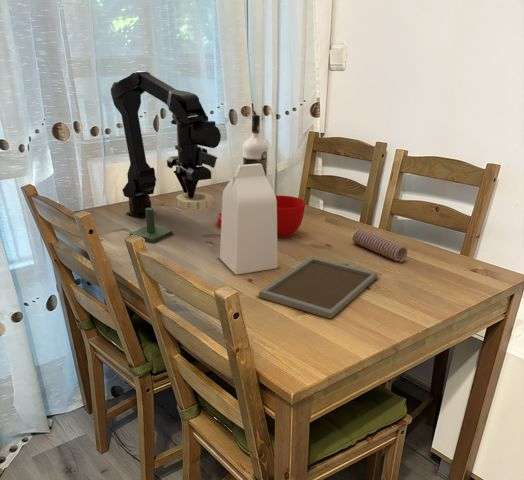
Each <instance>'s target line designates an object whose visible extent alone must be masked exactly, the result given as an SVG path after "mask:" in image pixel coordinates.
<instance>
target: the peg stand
mask: <svg viewBox="0 0 524 480" xmlns="http://www.w3.org/2000/svg"><path fill="white" fill-rule="evenodd" d="M145 213H146V216H145V224H146V226H143V227H141V228H138V229H136V230H133V231H131V232H129V236H130V235H133V234H135V235H138V236H141V237H143V238H144V239H145V241H144V242H148V243H151V244H156V243H157V242H160V241H162V240H164V239H166V238H168V237H170V236H172V235H173V230H171V229H167V228H164V227H161V226H156V223H155V210H154V207H151V208H146V209H145Z"/></svg>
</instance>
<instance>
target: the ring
mask: <svg viewBox="0 0 524 480" xmlns="http://www.w3.org/2000/svg"><path fill="white" fill-rule="evenodd" d="M176 205H177V207H179V208H180V209H184V210H189V211H198V210H199V211H202V210H207V209H210V208H212V207H213V206H214V196H213V195H211V194H210V193H206V192H201V191H195V193H194V197H193V198H191V199H190V198H189V196H188V193H184V192H183V193H180V194H178V195H177V196H176Z"/></svg>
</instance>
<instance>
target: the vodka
mask: <svg viewBox="0 0 524 480" xmlns="http://www.w3.org/2000/svg"><path fill="white" fill-rule="evenodd" d="M260 127H261V116H260V115H259V114H252V115H251V136H250V137H249V138H247V139H246V140H245V141H243V144H242V165H247V164H262V166H263V169H264V172H265V176H266V177H267V174H268V173H267V172H268V170H267V169H268V156H269V155H268V153H269V152H268V151H269V144H268V143H267V141H265V140H264V139H263V138H262V137H261V133H260V132H261V130H260V129H261V128H260Z"/></svg>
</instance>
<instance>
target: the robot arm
mask: <svg viewBox="0 0 524 480" xmlns="http://www.w3.org/2000/svg"><path fill="white" fill-rule="evenodd" d="M144 93H148V95H150V96H152V97H154V98H155V99H158V100H159V101H161V102H162V103H164V104H165V105H166V106H167V108H168V111H169V112H171V114H172V115H174V118H173V119H172V120H171V121H170V123H171V125H176V139H177V141H176V142H177V144H176V145H174V149H175V150H176V151H177V155H174V156H169V157H168V158H167V159H166V166H167V168H169V169H173V168H174V167H175V170H173V174H174V175H175V176H176V179H177V181H178V183H179V185H180V187H181V189H182V191H183V193H188V196H189V198H190V199H191V198H193V197H194V193H195V192H196V190H197V187H198V183H199V181H204V180H211V179H212V171H211V170H210V169H209V168H208V167H206V166H209V167H210V168H212V169H215V167H216V163H217V159H218V157H217V156H216V155H214V154H211V153H208V149H207V148H210V149H216V148H218V147H219V145H220V143H221V139H222V138H221V137H222V134H221V131H220V129H219V127H217V126H216V121H213V120H209V118H208V115H207V113H206V111H205V110H204V108H203V106H202V104H201V101H200V98H199V96H198V95H197V94H195V93H193V92H190V91H187V90H186V91H185V90H180V89H176V88H174V87H172V85H170V84H167V83H166V82H164V81H162V80H161V79H160V78H158V77H156V76H154V75H153V74H151V73H150V72H149V71H147V70H137V71H134V72H132V73H131V74H130V75H128V76H126V77H124V78H122V79H120V80H118V81H115V82H113V83H112V85H111V87H110V95H111V100H112V102H113V106H114V107H115V108H116V110H117V111H118V112H119V113H120V115H121V120H122V121H121V122H122V126H123V131H124V132H123V133H124V137H125V142H126V147H127V152H128V158H129V167H128V171H127V183H126V184H125V185H124V187H123V188H122V193H123V196H124V198H128V205H129V211H128V212H126V215H127V216H128V215H129V216H133V217H137V218H146V213H145V209H146V208H152V201H151V198H150V196H151V195H154V192H155V189H156V186H157V181H158V179H157V176H156V170H155V168H154V167H151V166H150V165H149V163H148V161H147V157H146V151H145V146H144V139H143V135H142V134H143V133H142V128H141V124H140V123H141V122H140V117H139V111H140V107H141V104H142V95H143V94H144ZM204 147H205V148H204ZM204 165H205V166H204Z"/></svg>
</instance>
